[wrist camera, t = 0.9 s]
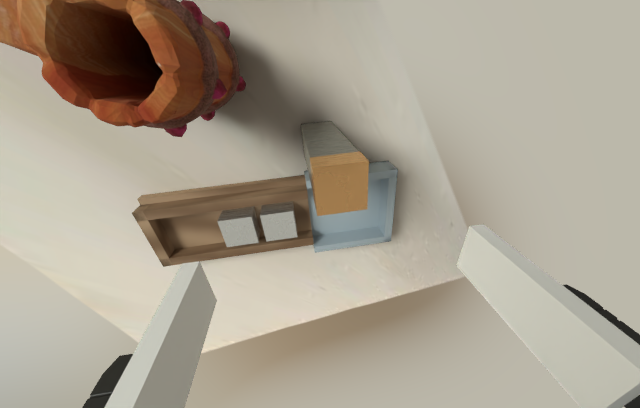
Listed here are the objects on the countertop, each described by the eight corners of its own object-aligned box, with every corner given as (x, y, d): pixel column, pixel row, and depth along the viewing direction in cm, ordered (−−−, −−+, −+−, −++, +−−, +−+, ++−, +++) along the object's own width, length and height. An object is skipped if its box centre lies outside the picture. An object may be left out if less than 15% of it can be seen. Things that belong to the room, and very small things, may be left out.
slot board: (141, 195, 28) (128, 206, 26) (304, 175, 30) (306, 184, 27) (174, 256, 33) (165, 270, 31) (312, 236, 35) (314, 248, 32)
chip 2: (261, 205, 30) (259, 215, 28) (292, 201, 30) (293, 211, 28) (267, 230, 32) (266, 241, 30) (296, 226, 32) (297, 237, 30)
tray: (304, 171, 29) (306, 181, 27) (388, 160, 30) (397, 169, 27) (312, 239, 35) (314, 252, 32) (383, 228, 36) (390, 241, 33)
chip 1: (222, 210, 29) (217, 221, 27) (253, 206, 30) (251, 216, 28) (230, 235, 31) (226, 247, 29) (260, 231, 32) (258, 242, 30)
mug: (260, 42, 22) (225, 1, 9) (239, 124, 26) (192, 177, 13) (73, -52, 18) (-489, -375, 5) (78, 62, 21) (-246, 49, 8)
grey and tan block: (300, 123, 26) (312, 167, 14) (331, 120, 27) (368, 160, 15) (303, 154, 28) (317, 216, 16) (332, 150, 28) (367, 209, 16)
